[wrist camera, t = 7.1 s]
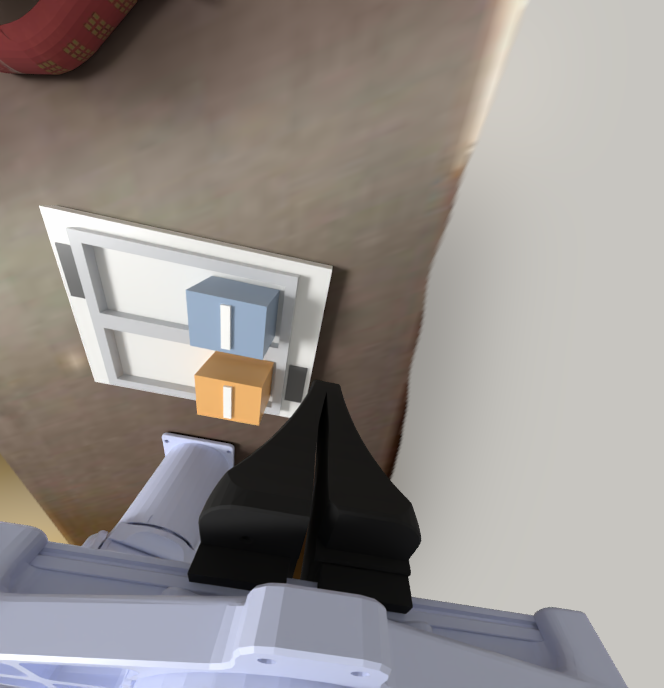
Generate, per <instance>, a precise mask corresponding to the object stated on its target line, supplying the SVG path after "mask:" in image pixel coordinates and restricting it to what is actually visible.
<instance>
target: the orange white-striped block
mask: <svg viewBox="0 0 664 688" xmlns="http://www.w3.org/2000/svg"><path fill="white" fill-rule="evenodd" d="M273 365H274V362H270V361H265V360H260V359H255V358H249V357H244V356H239V355H234V354H229V353H224V352H219V351H215V352H214V353H213V354H212V356H211V357H210V358H209V359H208V360H207V361H206V362H205V363H204V365H203V366H202V367H201V368H200V369H199V370H198V371H197V372H196V374H195V375H194V378H195V391H196V404H197V414H198V415H204V416H209V417H215V418H220V419H226V420H231V421H237V422H242V423H248V424H253V425H259V424H260V421H261V418H262V416H263V413H264V411H265V408H266V406H267V403H268V401H269V398H270V392H271V383H272V374H273Z"/></svg>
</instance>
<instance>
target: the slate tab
mask: <svg viewBox="0 0 664 688" xmlns="http://www.w3.org/2000/svg"><path fill="white" fill-rule="evenodd" d="M279 293H280V290H277V289H272V288H268V287H263V286H258V285H254V284H249V283H244V282H239V281H235V280H230V279H225V278H220V277H216V276H211V277H209V278H207V279H205V280H203V281H201V282H199V283H198V284H196V285H194V286H192V287H190V288H188V289H186V301H187V314H188V326H189V338H190V346H194V347H199V348H204V349H210V350H215V351H220V352H225V353H230V354H235V355H240V356H245V357H250V358H255V359H260V360H263V358H264V356H265V354H266V352H267V351H268V349H269V347H270V345H271V343H272V341H273V339H274V338H275V331H276V322H277V312H278V303H279Z"/></svg>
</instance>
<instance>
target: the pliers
mask: <svg viewBox="0 0 664 688" xmlns="http://www.w3.org/2000/svg"><path fill="white" fill-rule="evenodd" d="M137 1H138V0H40V1H39V2H38V3H37V4H36V5H35V6H34V7H33V8H32V9H31V10H30V11H29V12H28V13H27V14H26V15H24V16H23V17H21V18H20V19H18V20H16V21H13V22H11V23H8V24H4V25H0V72H3V73H19V74H54V75H58V74H63V73H66V72H69V71H71V70H73V69H75V68H77V67H78V66H80V65H81V64H82V63H84V62H85V61H86V60H88V59H89V58H90V57H91V56H92V55H93V54H94V53H95V52H96V51H97V50H98V49H99V47H100V46H101V45H102V44H103V43H104V41H105V40H106V39H107V38H108V37H109V35H110V34H111V33H112V32H113V30H114V29H115V28H116V27H117V26H118V24H119V23H120V22H121V21H122V20H123V18H124V17H125V16H126V15H127V13H128V12H129V11H130V10H131V9H132V7H133V6H134V5H135V4H136V3H137Z"/></svg>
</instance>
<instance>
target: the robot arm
mask: <svg viewBox="0 0 664 688" xmlns="http://www.w3.org/2000/svg"><path fill="white" fill-rule="evenodd" d="M162 440H163V446H164V451H165V458H164V460H163V461H162V462H161V464H160V465H159V467H158V468H157V469H156V471H155V472H154V474H153V475H152V476H151V478H150V479H149V481H148V482H147V483H146V485H145V486H144V488H143V489H142V490H141V492H140V493H139V495H138V496H137V497H136V499H135V500H134V502H133V503H132V504H131V506H130V507H129V509H128V510H127V511H126V513H125V514H124V516H123V517H122V518H121V520H120V521H119V522H118V524H117V525H116V526H115V527H114V528H113V529H112V531H111V532H110V533H109V534H108V532H107V531H104V530H101V531H100V532H99V533H98V534H97V533H96V534H93V535H91V536H89V537H88V539H87V540H86V541H85V542H84V544H83V545H82V546H76V545H70V544H63V543H56V542H50V541H48V538H47V536H46V534H45V533H44V532H43V531H42V530H40V529H38V528H36V527H32V526H28V525H21V524H15V523H8V522H2V521H0V688H628V687H627V685H626V684H625V682H624V680H623V678H622V677H621V675H620V673H619V671H618V670H617V668H616V667H615V664H614V663H613V661H612V659H611V658H610V656H609V654H608V652H607V651H606V649H605V648H604V645H603V644H602V642H601V640H600V639H599V637H598V635H597V633H596V632H595V630H594V628H593V626H592V625H591V623H590V621H589V619H588V618H587V616H586V614H585V613H583V612H581V611H574V610H568V609H562V608H554V607H548V608H543V609H541V610H539V611H537V612H536V613H535V614H534V616H533V615H527V614H520V613H514V612H507V611H500V610H494V609H487V608H481V607H474V606H468V605H461V604H455V603H448V602H442V601H435V600H428V599H422V598H415V597H411V591H410V585H409V579H408V576H410V574H411V570H410V565H409V558H410V557H411V556H412V554H413V553H414V552H415V550H416V549H417V548H418V547H419V545H420V542H421V534H420V529H419V525H418V522H417V518H416V515H415V512H414V509H413V506H412V504H411V502H410V501H409V500H408V499H407V498H406V497H405V496H404V495H403V494H402V493H401V492H400V491H399V490H398V489H397V487H396V486H395V485H394V484H393V483H392V482H391V481H390V479H389V478H388V477H387V476H386V475H385V473H384V472H383V471H382V469H381V468H380V467H379V465H378V464H377V462H376V461H375V460H374V458H373V457H372V455H371V454H370V452H369V451H368V449H367V448H366V446H365V444H364V443H363V441H362V439H361V437H360V435H359V434H358V432H357V430H356V428H355V426H354V423H353V421H352V419H351V417H350V414H349V412H348V409H347V407H346V404H345V401H344V398H343V395H342V391H341V387H340V385H339V384H335V383H329V382H324V381H319V380H314V381H313V382H312V385H311V387H310V390H309V391H308V393H307V395H306V397H305V398H304V400H303V401H302V403H301V404H300V406H299V407H298V408H297V410H296V411H295V412H294V413H293V415H292V416H291V417H290V418H289V420H288V421H287V422H286V423H285V424H284V425H283V426H282V427H281V428H280V429H279V430H278V431H277V432H276V433H275V434H274V435H273V436H272V437H271V438H270V439H269V440H268V441H267V442H266V443H265V444H263V445H262V446H261V447H260V448H258V449H257V450H256V451H255V452H253V453H252V454H251V455H250V456H248V457H247V458H246V459H244V460H243V461H241V462H240V463H238V464H237V465H235V466H234V446H233V445H232V444H229V443H223V442H218V441H212V440H206V439H201V438H195V437H189V436H184V435H178V434H173V433H164V434H163V435H162ZM316 443H317V447H316ZM315 453H316V469H315V482H314V489H313V479H314V465H315ZM307 528H308V532H307ZM306 532H307V538H306V545H305V552H304V559H303V565H302V572H301V578H300V580H298V579H292V577H293V574H294V570H295V567H296V563H297V560H298V559H299V555H300V552H301V549H302V545H303V542H304V538H305V535H306ZM107 534H108V535H107ZM106 535H107V536H106Z"/></svg>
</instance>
